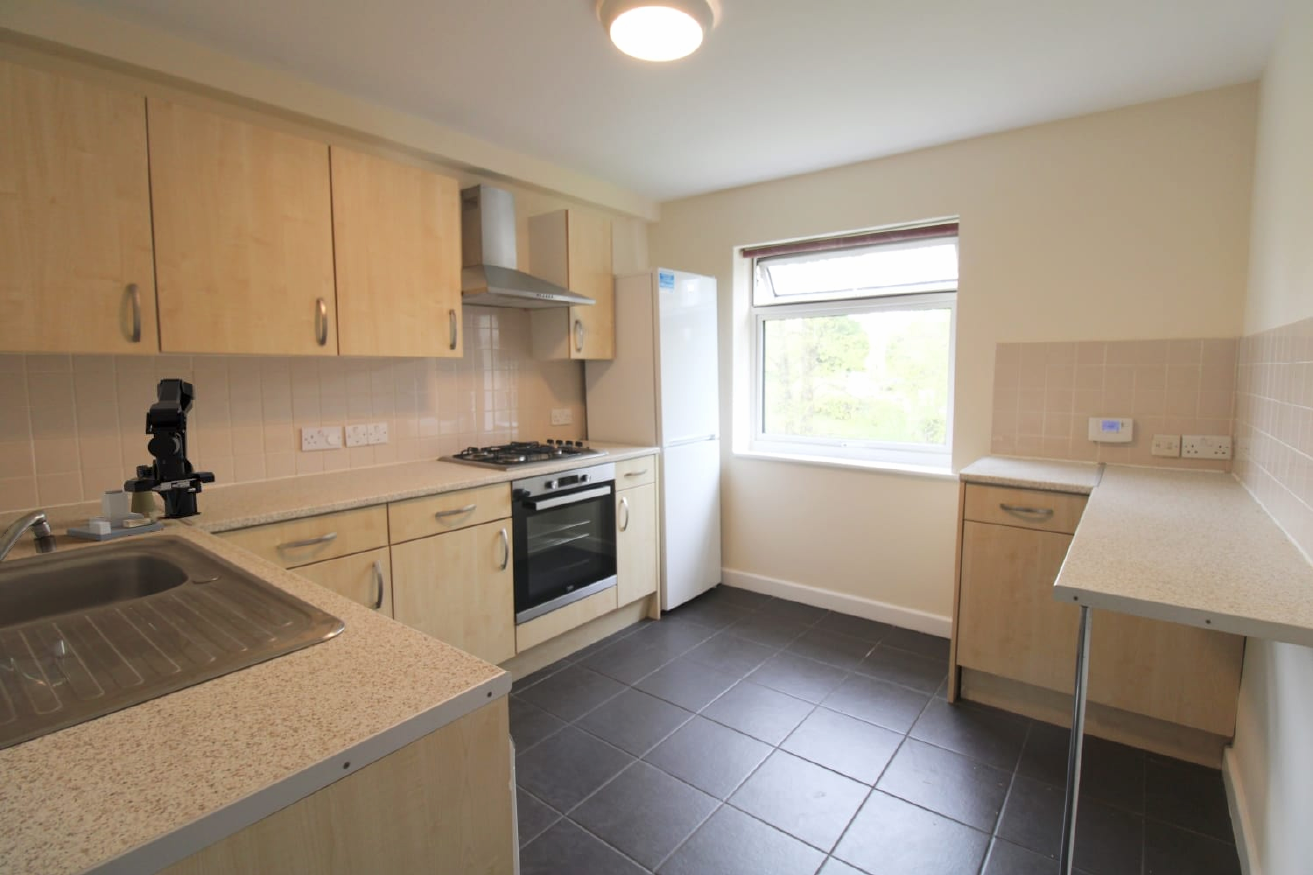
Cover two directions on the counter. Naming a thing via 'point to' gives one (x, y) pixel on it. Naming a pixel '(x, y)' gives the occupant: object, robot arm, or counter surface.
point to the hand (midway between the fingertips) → (174, 513)
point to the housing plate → (111, 528)
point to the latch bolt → (142, 519)
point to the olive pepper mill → (142, 501)
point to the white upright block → (114, 504)
